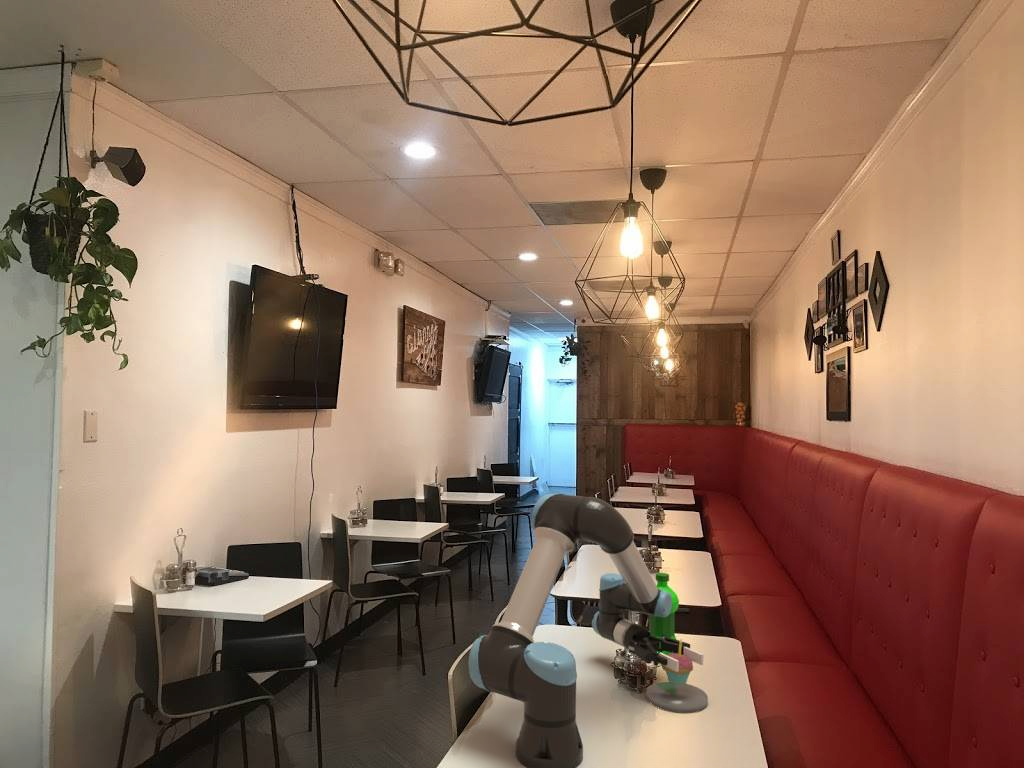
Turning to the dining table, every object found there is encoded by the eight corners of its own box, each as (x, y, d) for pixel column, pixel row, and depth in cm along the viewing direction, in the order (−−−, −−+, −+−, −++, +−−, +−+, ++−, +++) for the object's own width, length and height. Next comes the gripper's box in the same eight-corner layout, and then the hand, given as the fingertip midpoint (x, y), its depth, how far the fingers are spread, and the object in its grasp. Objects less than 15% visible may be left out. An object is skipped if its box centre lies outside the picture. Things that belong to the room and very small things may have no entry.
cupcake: (699, 685, 181) (699, 640, 181) (672, 689, 178) (672, 643, 178) (681, 673, 189) (681, 629, 189) (654, 677, 186) (654, 632, 186)
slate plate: (676, 718, 172) (676, 712, 172) (634, 694, 186) (634, 688, 186) (720, 704, 180) (720, 698, 181) (677, 682, 194) (677, 677, 194)
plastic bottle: (648, 645, 223) (649, 569, 224) (681, 651, 219) (682, 572, 220) (641, 656, 214) (642, 576, 215) (675, 661, 210) (675, 580, 211)
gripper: (659, 643, 204) (718, 669, 185) (604, 656, 194) (660, 685, 174) (659, 618, 205) (718, 641, 185) (604, 629, 194) (660, 656, 174)
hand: (690, 662), depth 180 cm, fingers closed on cupcake, 8 cm apart
